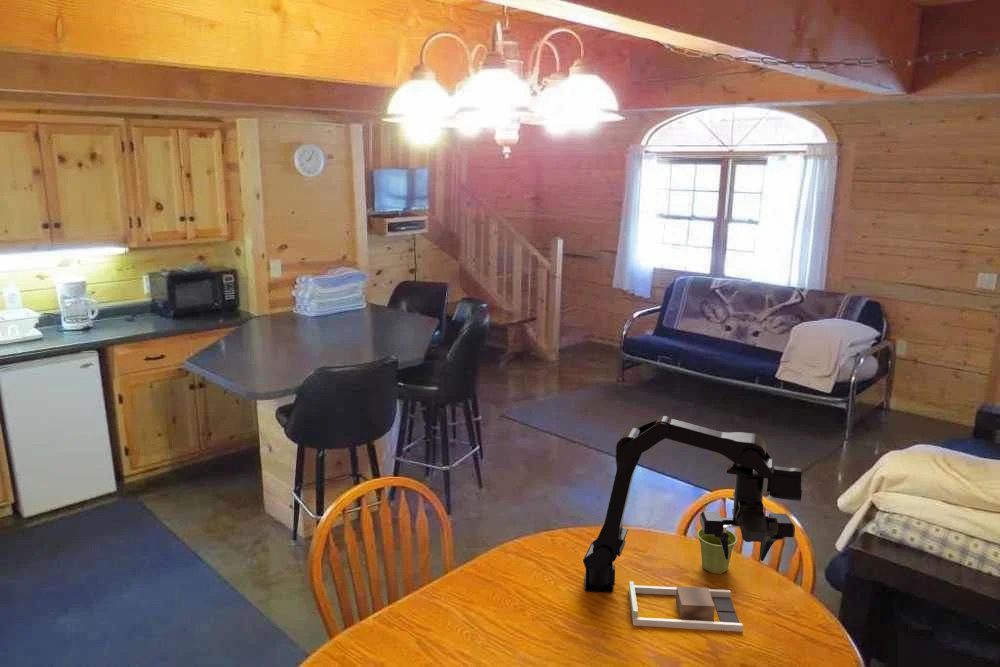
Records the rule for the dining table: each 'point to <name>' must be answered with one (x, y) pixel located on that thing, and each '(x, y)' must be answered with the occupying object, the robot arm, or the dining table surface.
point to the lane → (674, 622)
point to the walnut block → (695, 603)
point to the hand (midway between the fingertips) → (743, 559)
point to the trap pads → (725, 609)
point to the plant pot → (715, 551)
